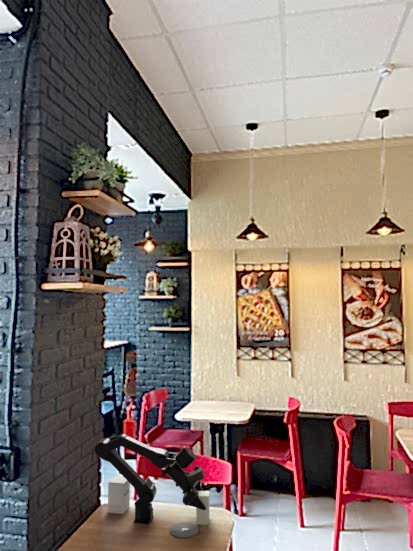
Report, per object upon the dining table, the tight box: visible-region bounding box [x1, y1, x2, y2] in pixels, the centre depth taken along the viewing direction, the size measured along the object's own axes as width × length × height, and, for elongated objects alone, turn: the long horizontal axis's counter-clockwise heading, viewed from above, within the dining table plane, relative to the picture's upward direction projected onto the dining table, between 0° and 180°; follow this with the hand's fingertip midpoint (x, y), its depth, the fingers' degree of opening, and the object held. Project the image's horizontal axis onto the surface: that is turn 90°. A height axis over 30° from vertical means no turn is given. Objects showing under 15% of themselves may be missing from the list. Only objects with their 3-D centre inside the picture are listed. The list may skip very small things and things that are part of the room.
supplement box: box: [107, 476, 131, 515], centre depth 193 cm, size 7×7×13 cm
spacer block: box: [195, 490, 210, 526], centre depth 182 cm, size 5×5×11 cm
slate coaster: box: [169, 521, 200, 539], centre depth 175 cm, size 11×11×1 cm
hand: (206, 504), depth 182 cm, fingers open, 9 cm apart
